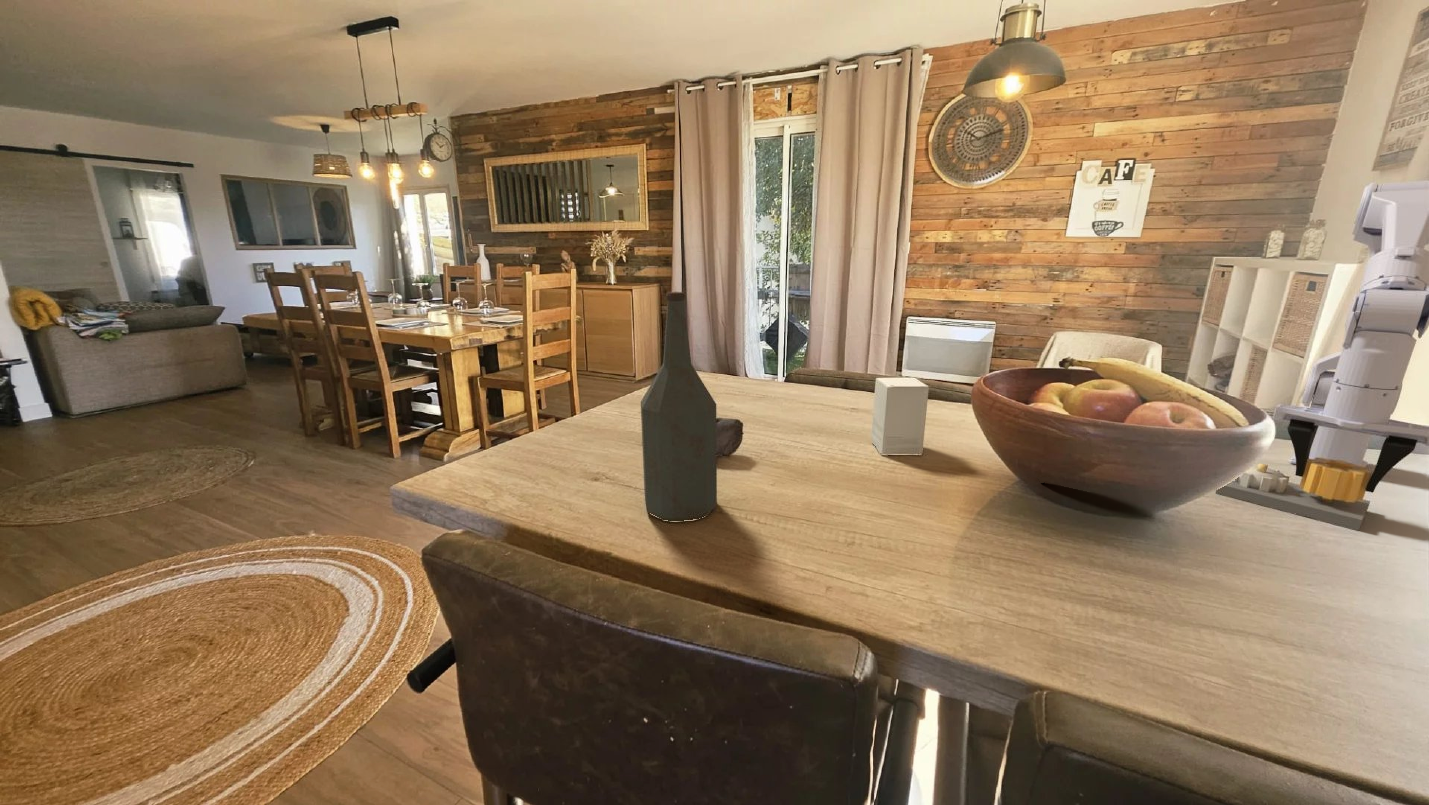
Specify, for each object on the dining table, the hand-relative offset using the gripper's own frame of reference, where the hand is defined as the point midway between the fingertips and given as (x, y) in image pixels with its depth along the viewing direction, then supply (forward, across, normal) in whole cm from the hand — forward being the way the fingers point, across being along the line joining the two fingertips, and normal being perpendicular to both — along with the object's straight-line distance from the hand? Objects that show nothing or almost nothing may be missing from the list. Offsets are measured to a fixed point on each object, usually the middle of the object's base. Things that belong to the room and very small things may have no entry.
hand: (1333, 482), depth 74 cm
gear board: (+4, -4, 0) cm, 6 cm away
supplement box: (+4, -50, -26) cm, 57 cm away
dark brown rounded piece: (+5, -70, -56) cm, 89 cm away
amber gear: (+2, 0, 0) cm, 2 cm away
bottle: (+4, -54, -70) cm, 89 cm away
